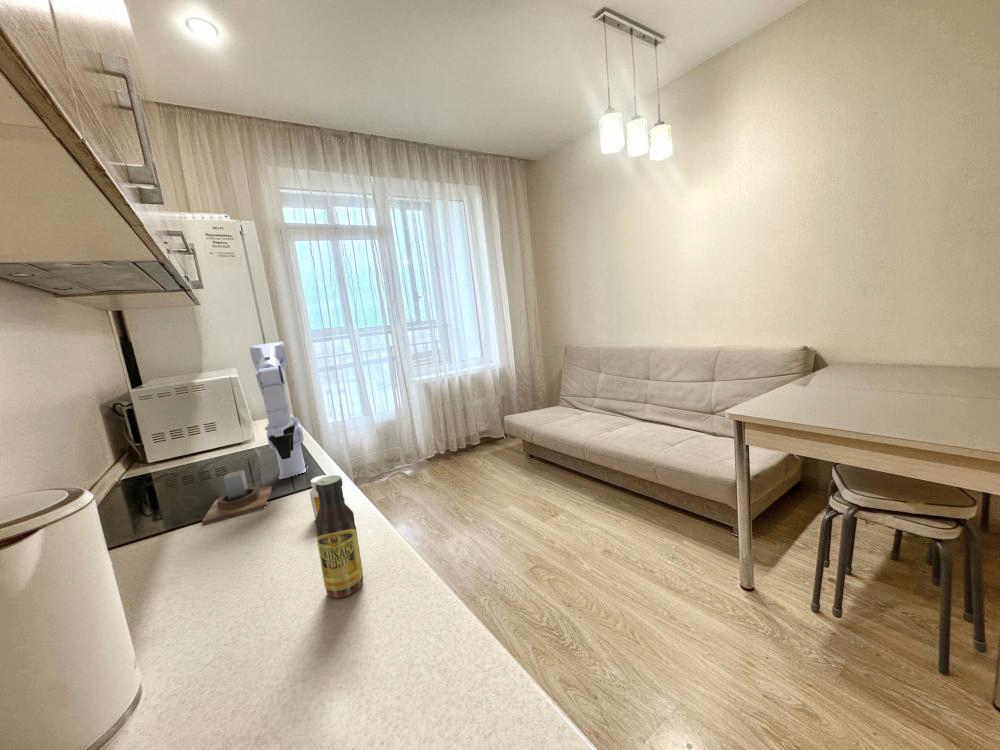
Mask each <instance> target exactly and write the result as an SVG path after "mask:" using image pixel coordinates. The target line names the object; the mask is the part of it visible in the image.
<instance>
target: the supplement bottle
mask: <svg viewBox="0 0 1000 750" xmlns="http://www.w3.org/2000/svg"><path fill="white" fill-rule="evenodd" d="M327 476H328V475H326V474H322V475H318V476H315V477H313V478H312V479H311V480H310V485H311V487H312V488H311V489H310V491H309V496H310V502H311V506H312V510H313V515H314V519H315V520H316V517H317V514H318V511H319V508H320V506H319V504H320V502H319V496H318V492H317V491H316V484H315V483H316V482H317V481H318V480H319V479H321V478H324V477H327Z"/></svg>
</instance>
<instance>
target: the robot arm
mask: <svg viewBox="0 0 1000 750" xmlns="http://www.w3.org/2000/svg"><path fill="white" fill-rule="evenodd" d="M249 351H250V352H249V353H250V357H251V359H252V363H253V366H254V369H255V370H256V371H255V376H256V382H257V384H258V385H257V386H258V387H259V390H260V394H261V396H262V399H263V403H264V408H265V412H266V416H267V421H268V423H267V424H266V426H265V427H264V430H265V431H266V439H267V442H268V446H269V449H271V450H274V452H275V455H276V458H277V462H278V463H277V464H278V467H279V476H278V480H282V479H287V478H291V476H292V477H295V475H296V476H299V475H298V474H300V475H302V474H301V473H304V472H306V468H305V463H306V462H305V459H304V454H303V449H302V446H301V445H302V443H304V442H305V437H304V434H303V429H302V424H301V422H300V421H301V420H300V419H299V418H297V417H296V416H295V417H294V416H292V415H291V411H290V405H289V401H288V395H287V392H286V379H285V375H284V374H285V373H284V370H286V369H287V368H288V359H287V353H286V350H285V344H284V342H283V341H282V340H281V341H277V342H270V343H260V344H255V345H254V344H251V345H250V346H249ZM306 473H307V472H306ZM304 474H305V473H304Z"/></svg>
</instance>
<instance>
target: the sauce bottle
mask: <svg viewBox="0 0 1000 750" xmlns="http://www.w3.org/2000/svg"><path fill="white" fill-rule="evenodd" d="M315 484H316V491H317V492H318V496H319V502H320V504H319V506H320V508H319V511H318V514H317V517H316V519H315V520H314V521H315V522H314V523H315V532H316V542H317V547H318V554H319V559H320V565H321V572H322V578H323V584H324V587H325V590H326V594H327V596H328V597H330V598H333V599H341V598H346V597H348V596H350V595H352V594H353V593H356V592H357V591H358V590H359V589H360V587H361V585H362V584H363V582H364V576H363V575H364V571H363V563H362V559H361V551H360V544H359V538H358V531H357V526H356V522H355V515H354V512H353V510H352V509H351V508H350V507H349V505H347V504H346V502H345V497H344V493H343V488H342V487H343V479H342V476H340V475H337V474H335V475H334V474H333V475H332V474H331V475H327V477H324V478H321V479H319V480H318V481H317V482H316V483H315Z"/></svg>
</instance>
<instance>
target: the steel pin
mask: <svg viewBox="0 0 1000 750" xmlns="http://www.w3.org/2000/svg"><path fill="white" fill-rule="evenodd" d="M223 484H224V487H225V490H226V494H227V495H228V499H229V502H230V501H233V500H237V499H241V498H244V497H246V496H248V495H249V494H250V493H249V489H248V487H249V486H248V481H247V477H246V472H245V470H244V469H243V470H242V469H241V470H237V471H233V472H229V473H226V474H225V475H224V477H223Z"/></svg>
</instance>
